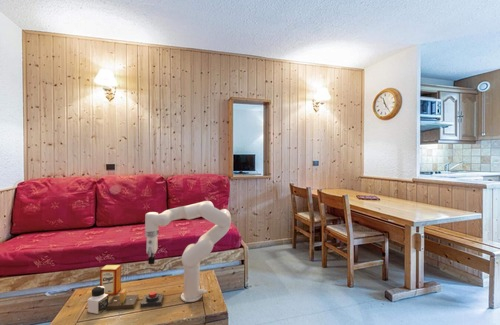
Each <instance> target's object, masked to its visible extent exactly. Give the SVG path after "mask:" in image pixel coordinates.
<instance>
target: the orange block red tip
mask: <svg viewBox="0 0 500 325" xmlns="http://www.w3.org/2000/svg"><path fill="white" fill-rule="evenodd" d="M119 293H120V294H119V296H120V303H123V302H124V301H125V299H126V295H127V288H123V289H121V292H119Z"/></svg>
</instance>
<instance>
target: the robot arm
mask: <svg viewBox="0 0 500 325" xmlns="http://www.w3.org/2000/svg"><path fill="white" fill-rule="evenodd" d="M200 217H202V218H203V219H205V220H207V221H208V222H210V223H212V224H214V225H213V226H212V227H211V228H210V229H209V230H208V231H206V232H205V233H203V234H202V235H201V236H199V238H198V240H197V242H195V243H190V244H188V245H187V246H186V247H185V249H184V250H183V253H182V255H181V257H180V258H181V264H182V265H183V291H182V293H181V294H180V300H181V301H183V302H184V303H194V302H197V301H199V300H201V299H202V297H203V295H206V294H208V290H207V289H206V288H201V285H200V282H201V261H202V260H204V259H205V258H206V257H207V256H209V255H210V253H211V252H213V249H214V246H215V244H217V242H219V241H220V240H221V239H222V238H223V237H224V236H225V235H227V233H228V232H229V230H230V228H231V225H232V215H231V212H230V211H229V209H227V208H222V209H219V208H217V207H216V206H214V203H213V202H212V201H210V200H203V201H200V202H196V203H192V204H188V205H183V206H177V207H174V208H169V209H166V210H164V211H162V212H161V213H159V212H156V211H149V212H147V213H145V217H144V221H145V222H144V238H146V246H145V247H146V249H145V251H146V254H147V255H148V262H147V263H148V265H154V264H155V263H156V261H155V260H156V256H155V255H156V253H157V251H158V249H159V246H158V245H159V244H158V241H159V240H158V236H160V235H159V234H160V233H159V231H160V228H159V227H165V226H168V225H169V224H170V223H172V221H177V220H181V219H185V220H193V219H196V218H200Z"/></svg>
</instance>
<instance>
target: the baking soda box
mask: <svg viewBox="0 0 500 325" xmlns="http://www.w3.org/2000/svg"><path fill="white" fill-rule="evenodd" d="M99 286H103V287H105V294H108V296H117V295H118V293H120V291H122V264H106V265H104V266H102V267H101V268H100V269H99Z"/></svg>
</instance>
